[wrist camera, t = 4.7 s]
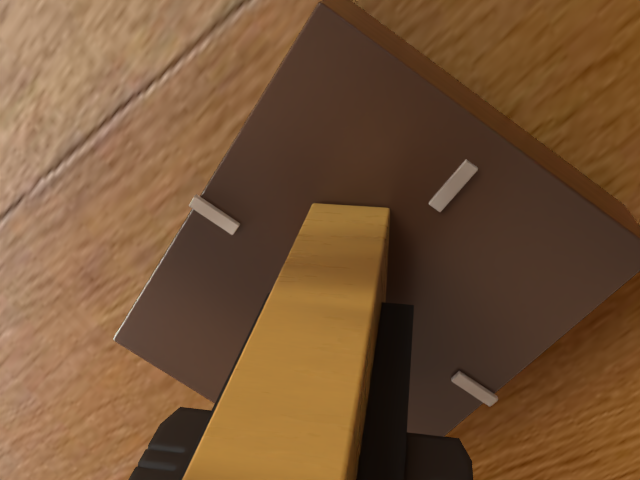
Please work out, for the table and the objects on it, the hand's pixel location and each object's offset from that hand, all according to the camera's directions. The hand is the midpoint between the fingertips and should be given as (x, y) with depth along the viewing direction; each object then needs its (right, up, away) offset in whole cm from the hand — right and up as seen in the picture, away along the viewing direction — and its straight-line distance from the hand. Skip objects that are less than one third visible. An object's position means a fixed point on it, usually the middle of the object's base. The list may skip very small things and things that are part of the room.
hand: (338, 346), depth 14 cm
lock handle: (0, +1, +2) cm, 2 cm away
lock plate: (+1, +2, +4) cm, 5 cm away
